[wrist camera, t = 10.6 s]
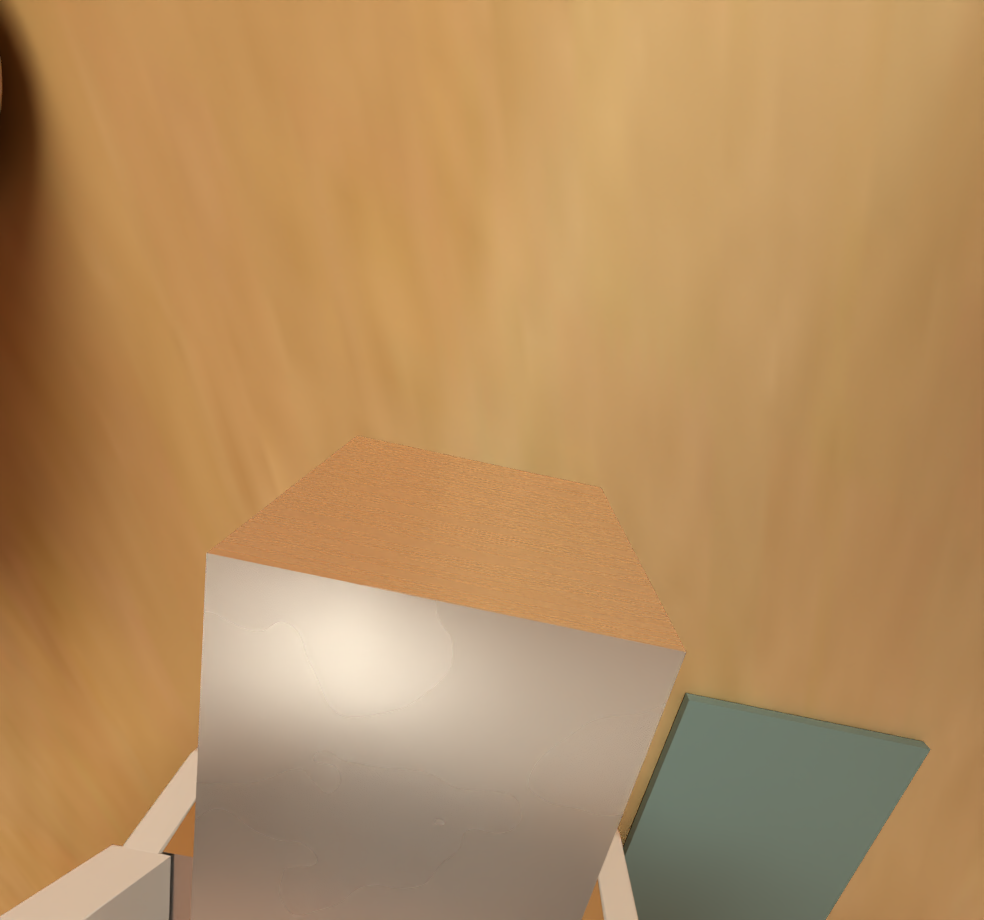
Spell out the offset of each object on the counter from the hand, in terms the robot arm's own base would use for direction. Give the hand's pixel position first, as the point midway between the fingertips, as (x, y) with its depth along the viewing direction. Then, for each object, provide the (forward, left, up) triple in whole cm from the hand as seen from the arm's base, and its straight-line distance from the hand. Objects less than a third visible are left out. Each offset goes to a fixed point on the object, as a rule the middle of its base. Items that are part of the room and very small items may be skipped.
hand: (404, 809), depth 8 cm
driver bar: (0, 0, -1) cm, 1 cm away
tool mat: (+10, +12, -7) cm, 17 cm away
